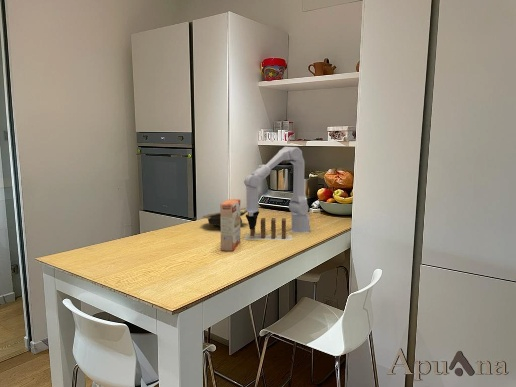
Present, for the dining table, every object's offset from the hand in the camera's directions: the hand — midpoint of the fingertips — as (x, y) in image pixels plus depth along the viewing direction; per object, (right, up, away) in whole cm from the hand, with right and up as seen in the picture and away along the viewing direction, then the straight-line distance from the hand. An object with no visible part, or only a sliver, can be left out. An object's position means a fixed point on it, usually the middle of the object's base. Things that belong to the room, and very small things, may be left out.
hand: (252, 227), depth 190 cm
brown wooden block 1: (0, -3, +1) cm, 3 cm away
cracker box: (-9, -8, -13) cm, 18 cm away
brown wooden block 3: (+10, -5, 0) cm, 11 cm away
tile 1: (+15, -5, -1) cm, 16 cm away
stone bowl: (-16, -2, +26) cm, 31 cm away
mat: (+7, -5, 0) cm, 9 cm away
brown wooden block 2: (+5, -5, 0) cm, 7 cm away
